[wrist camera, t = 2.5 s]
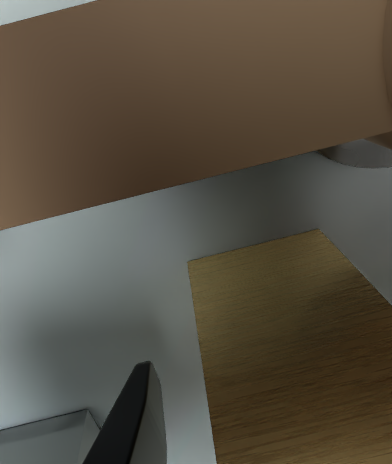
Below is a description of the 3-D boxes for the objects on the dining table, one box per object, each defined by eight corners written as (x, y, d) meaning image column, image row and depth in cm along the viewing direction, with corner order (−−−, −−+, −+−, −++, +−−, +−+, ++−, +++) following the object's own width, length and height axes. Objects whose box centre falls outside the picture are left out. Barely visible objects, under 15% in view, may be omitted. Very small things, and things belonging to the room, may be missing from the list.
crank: (588, -197, 6) (931, -400, 3) (523, 113, 8) (691, 137, 5) (-307, 40, 6) (-648, 26, 3) (-119, 275, 8) (-241, 370, 6)
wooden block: (318, 228, 10) (700, 630, 3) (325, 328, 12) (571, 723, 5) (187, 261, 10) (256, 733, 3) (213, 355, 12) (296, 784, 5)
